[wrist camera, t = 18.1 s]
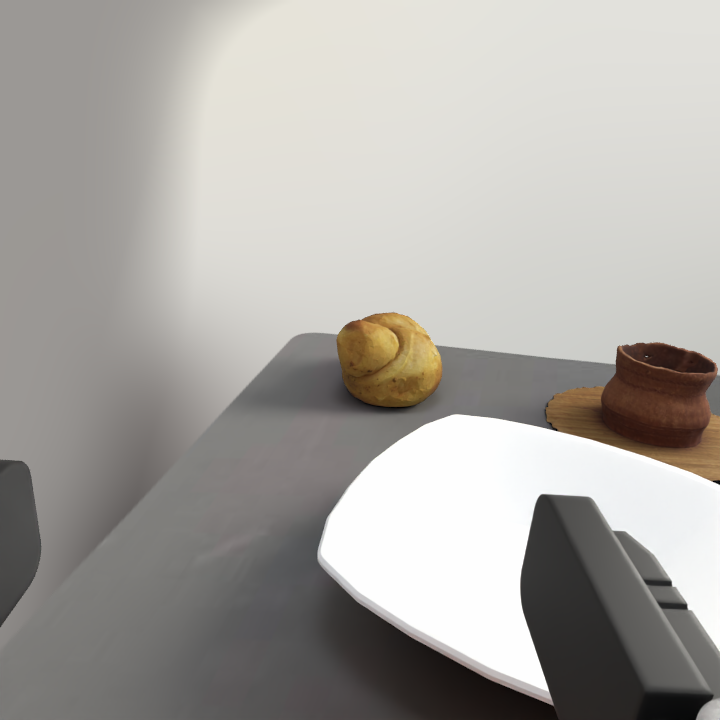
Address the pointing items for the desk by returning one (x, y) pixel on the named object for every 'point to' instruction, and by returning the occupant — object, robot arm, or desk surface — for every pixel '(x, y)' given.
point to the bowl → (503, 534)
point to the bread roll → (388, 360)
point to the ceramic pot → (649, 408)
